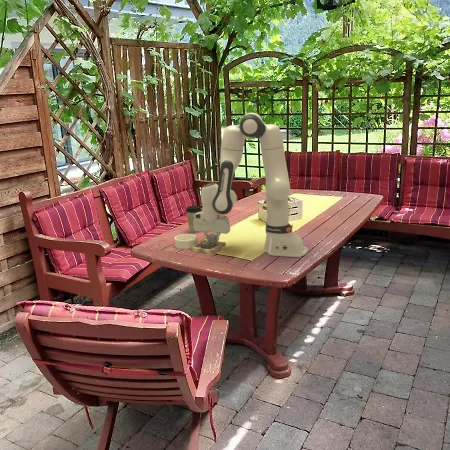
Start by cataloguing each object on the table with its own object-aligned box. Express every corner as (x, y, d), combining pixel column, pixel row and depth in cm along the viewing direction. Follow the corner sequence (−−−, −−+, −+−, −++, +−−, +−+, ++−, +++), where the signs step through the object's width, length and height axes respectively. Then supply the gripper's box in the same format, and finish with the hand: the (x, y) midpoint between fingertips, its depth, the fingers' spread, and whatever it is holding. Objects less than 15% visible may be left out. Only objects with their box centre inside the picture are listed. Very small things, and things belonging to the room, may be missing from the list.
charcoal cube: (211, 249, 245) (210, 242, 244) (207, 251, 241) (207, 244, 240) (204, 248, 246) (204, 241, 245) (200, 250, 243) (200, 243, 242)
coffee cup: (188, 235, 273) (187, 209, 269) (185, 230, 282) (183, 206, 277) (204, 233, 275) (203, 208, 271) (200, 228, 284) (199, 204, 280)
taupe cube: (218, 241, 250) (217, 234, 248) (214, 244, 246) (214, 236, 245) (211, 241, 251) (210, 233, 250) (207, 243, 248) (207, 236, 247)
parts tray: (225, 247, 250) (225, 242, 249) (213, 256, 238) (213, 250, 237) (204, 244, 255) (204, 239, 255) (191, 252, 243) (190, 247, 243)
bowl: (201, 245, 255) (201, 235, 253) (190, 252, 245) (190, 242, 243) (182, 242, 260) (182, 232, 259) (170, 249, 250) (170, 239, 248)
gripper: (231, 214, 242) (233, 240, 246) (197, 211, 251) (199, 236, 255) (226, 217, 237) (227, 243, 241) (191, 214, 246) (193, 239, 250)
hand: (212, 240), depth 248 cm, fingers closed on taupe cube, 4 cm apart
